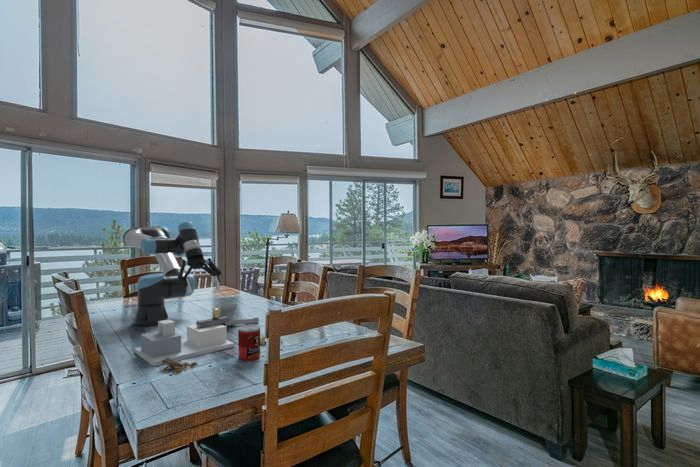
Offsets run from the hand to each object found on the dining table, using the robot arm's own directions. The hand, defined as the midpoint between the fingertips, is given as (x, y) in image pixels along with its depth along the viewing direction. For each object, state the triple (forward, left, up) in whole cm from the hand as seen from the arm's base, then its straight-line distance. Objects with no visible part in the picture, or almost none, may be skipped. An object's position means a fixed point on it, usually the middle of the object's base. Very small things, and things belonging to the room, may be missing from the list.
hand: (204, 291), depth 181 cm
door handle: (0, +17, -18) cm, 24 cm away
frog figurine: (+41, -28, -18) cm, 53 cm away
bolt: (+23, -7, -10) cm, 26 cm away
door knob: (+36, +10, -18) cm, 42 cm away
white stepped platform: (+23, -18, -17) cm, 34 cm away
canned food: (+48, -5, -18) cm, 52 cm away
